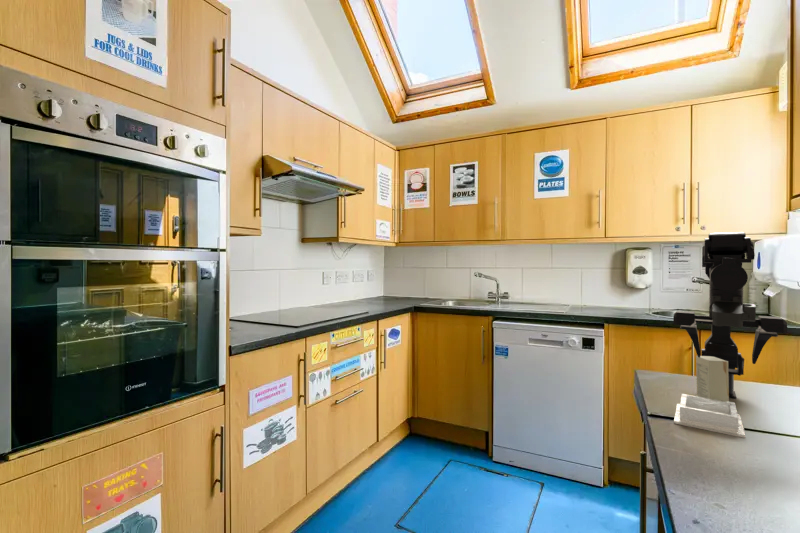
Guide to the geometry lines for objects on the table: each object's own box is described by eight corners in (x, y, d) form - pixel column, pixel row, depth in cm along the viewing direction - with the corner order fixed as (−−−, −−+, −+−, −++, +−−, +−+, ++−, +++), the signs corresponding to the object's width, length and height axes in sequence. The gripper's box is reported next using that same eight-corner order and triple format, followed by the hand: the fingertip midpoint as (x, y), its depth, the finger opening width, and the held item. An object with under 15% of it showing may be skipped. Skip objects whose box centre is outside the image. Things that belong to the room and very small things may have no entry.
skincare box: (729, 411, 94) (730, 361, 94) (709, 410, 95) (709, 360, 95) (714, 402, 101) (714, 355, 101) (695, 401, 102) (695, 354, 102)
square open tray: (677, 405, 98) (677, 391, 98) (739, 417, 91) (739, 401, 91) (674, 423, 87) (674, 407, 87) (745, 438, 80) (745, 420, 80)
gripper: (672, 289, 85) (671, 360, 85) (792, 293, 73) (792, 376, 73) (674, 287, 94) (674, 352, 94) (782, 290, 82) (782, 364, 82)
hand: (725, 360), depth 85 cm, fingers open, 9 cm apart
